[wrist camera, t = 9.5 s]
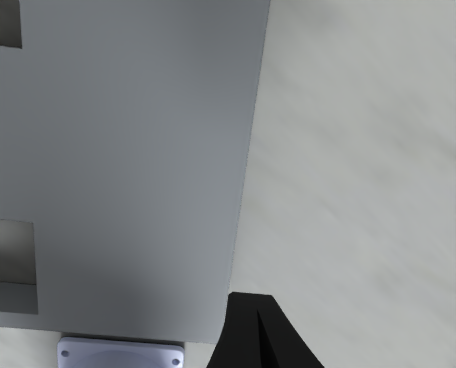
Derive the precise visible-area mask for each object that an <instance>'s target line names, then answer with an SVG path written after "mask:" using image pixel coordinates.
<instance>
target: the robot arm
mask: <svg viewBox="0 0 456 368" xmlns="http://www.w3.org/2000/svg"><path fill="white" fill-rule="evenodd" d="M64 350H65V351H64ZM66 351H68V352H66ZM184 354H185V352H184V349H183V348H182V347H181V346H174V345H162V344H149V343H136V342H124V341H111V340H99V339H86V338H73V337H63V338H61V339H60V341H59V342H58V344H57V356H58V368H183V363H184ZM174 359H178V360H174ZM206 368H324V366H323V365H322V364H321V363H320V362H319V360H318V359H317V358H316V357H315V355H314V354H313V353H312V352H311V350H310V349H309V348H308V346H307V345H306V344H305V342H304V341H303V340H302V338H301V337H300V336H299V334H298V333H297V331H296V330H295V329H294V327H293V326H292V324H291V323H290V321H289V320H288V319H287V317H286V316H285V314H284V313H283V311H282V310H281V308H280V307H279V305H278V303H277V302H276V300H275V299H274V298H273V296H272V295H263V294H252V293H240V292H232V293H230V294H229V295H228V302H227V309H226V316H225V323H224V326H223V329H222V332H221V335H220V338H219V340H218V343H217V345H216V347H215V350H214V352H213V354H212V357H211V359H210V361H209V363H208V365H207V367H206Z"/></svg>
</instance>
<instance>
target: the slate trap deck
mask: <svg viewBox="0 0 456 368" xmlns="http://www.w3.org/2000/svg"><path fill="white" fill-rule="evenodd" d="M19 3H20V19H21V36H22V48H19V47H11V46H4V45H0V220H11V221H21V222H31V223H33V232H34V248H35V264H36V281H37V285H29V284H18V283H6V282H0V327H9V328H21V329H34V330H46V331H58V332H71V333H83V334H96V335H108V336H121V337H133V338H146V339H158V340H171V341H183V342H196V343H208V344H217V343H218V340H219V338H220V335H221V332H222V329H223V324H224V317H225V310H226V303H227V296H228V289H229V282H230V275H231V269H232V262H233V255H234V248H235V241H236V234H237V227H238V220H239V213H240V206H241V199H242V193H243V186H244V179H245V172H246V165H247V158H248V151H249V144H250V137H251V130H252V123H253V117H254V110H255V103H256V96H257V89H258V82H259V75H260V68H261V61H262V54H263V47H264V41H265V34H266V27H267V20H268V13H269V6H270V0H19Z"/></svg>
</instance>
